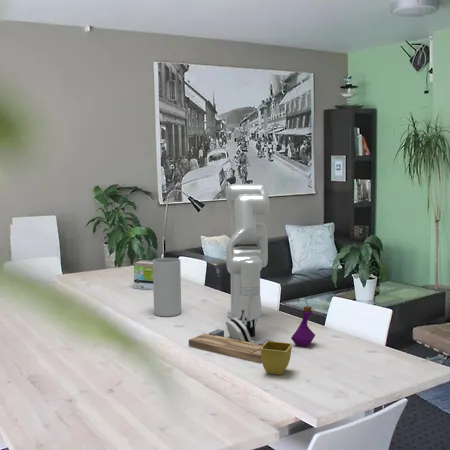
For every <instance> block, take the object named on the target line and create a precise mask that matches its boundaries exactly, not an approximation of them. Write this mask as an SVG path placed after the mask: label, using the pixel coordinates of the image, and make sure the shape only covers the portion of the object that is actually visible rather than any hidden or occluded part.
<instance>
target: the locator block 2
mask: <svg viewBox="0 0 450 450" xmlns="http://www.w3.org/2000/svg"><path fill="white" fill-rule="evenodd" d="M267 341H273V342H275V340H273V339H264V340H263V341H260V342H258V343H257V345H262V346H263V345H264V344H265V343H266V342H267Z"/></svg>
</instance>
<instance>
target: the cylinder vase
mask: <svg viewBox="0 0 450 450" xmlns="http://www.w3.org/2000/svg"><path fill="white" fill-rule="evenodd" d="M152 261H153V287H154V290H153V313H154V315H156V316H158V317H162V316H163V317H165V318H166V317H167V318H168V317H169V318H170V317H176V316H179V315H180V314H181V313H182V283H181V282H182V281H181V280H182V276H181V274H182V273H181V271H182V270H181V259H180V258H177V257H159V258H155V259H152Z"/></svg>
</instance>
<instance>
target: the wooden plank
mask: <svg viewBox="0 0 450 450" xmlns="http://www.w3.org/2000/svg"><path fill="white" fill-rule="evenodd" d="M188 347H190V348H195V349H199V350H204V351H207V352H210V353H211V352H212V353H216V354H220V355H224V356H228V357H233V358H238V359H241V360H246V361H249V362H254V363H259V364H261V363H262V357H261V347H262V345H258V343H256V344H254V343H250V342H245V341H240V340H236V339H233V338H231V337H226V336H224V337H221V336H215V335H210V334H209V333H202V334H200V335H197V336H195V337H193V338H190V339H188Z"/></svg>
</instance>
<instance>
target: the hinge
mask: <svg viewBox="0 0 450 450" xmlns="http://www.w3.org/2000/svg"><path fill="white" fill-rule="evenodd" d="M225 326H226V329H227V332H228V335H229V338H231V339H236V340H240V341H245V342H250V343H254V344H257V343H256V342H255V341H254V340H253V339H252V337H250V335H249V332H248V330H247V328H246V327H245V325H244V324H243V323H242V320H238V319H237V318H233V319H232V318H230V319H227V320H226V321H225Z"/></svg>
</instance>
